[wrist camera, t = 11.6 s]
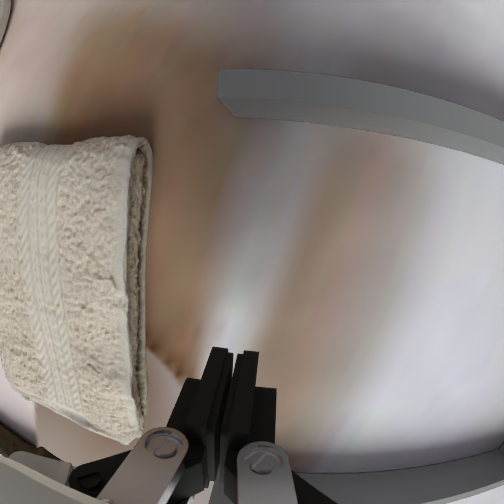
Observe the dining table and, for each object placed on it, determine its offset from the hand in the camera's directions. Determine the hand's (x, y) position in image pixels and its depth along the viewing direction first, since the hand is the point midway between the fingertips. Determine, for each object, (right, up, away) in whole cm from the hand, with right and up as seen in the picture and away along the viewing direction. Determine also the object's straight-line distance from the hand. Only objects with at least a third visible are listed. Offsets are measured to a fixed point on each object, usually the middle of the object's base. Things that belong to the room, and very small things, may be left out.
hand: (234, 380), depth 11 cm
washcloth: (-10, +2, +5) cm, 12 cm away
